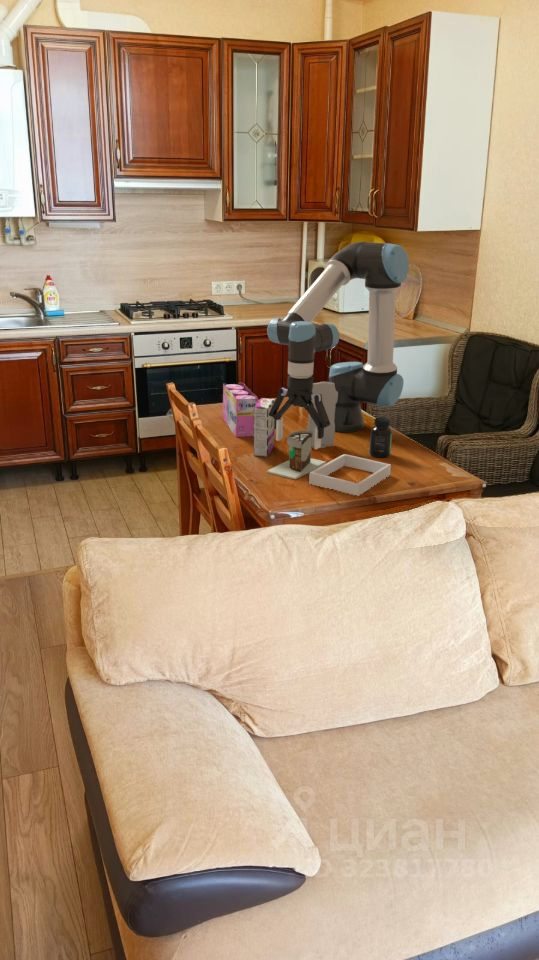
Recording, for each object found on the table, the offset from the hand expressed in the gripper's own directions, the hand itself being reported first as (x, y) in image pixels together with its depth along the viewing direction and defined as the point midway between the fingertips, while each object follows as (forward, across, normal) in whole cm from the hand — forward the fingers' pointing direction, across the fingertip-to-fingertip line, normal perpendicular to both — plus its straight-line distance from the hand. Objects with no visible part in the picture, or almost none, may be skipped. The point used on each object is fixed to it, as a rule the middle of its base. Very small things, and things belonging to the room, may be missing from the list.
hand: (298, 443), depth 236 cm
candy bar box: (+8, +17, -7) cm, 20 cm away
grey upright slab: (+8, +5, -23) cm, 25 cm away
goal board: (+8, 0, 0) cm, 8 cm away
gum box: (+8, +39, -24) cm, 46 cm away
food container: (+7, 0, 0) cm, 7 cm away
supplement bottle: (+8, -15, -27) cm, 32 cm away
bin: (+8, -18, -1) cm, 20 cm away
